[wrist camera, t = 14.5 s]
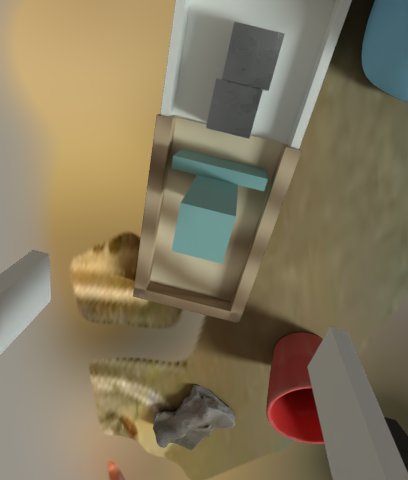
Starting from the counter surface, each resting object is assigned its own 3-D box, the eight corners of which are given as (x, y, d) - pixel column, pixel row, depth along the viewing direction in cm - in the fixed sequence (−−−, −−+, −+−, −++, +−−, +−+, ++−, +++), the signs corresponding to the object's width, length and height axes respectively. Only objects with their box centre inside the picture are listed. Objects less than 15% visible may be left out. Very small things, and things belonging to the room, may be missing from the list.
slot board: (164, 113, 30) (156, 115, 28) (296, 145, 30) (301, 150, 28) (140, 283, 40) (133, 296, 38) (239, 308, 40) (239, 323, 38)
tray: (189, -45, 25) (183, -59, 22) (347, -7, 25) (357, -17, 22) (166, 113, 30) (160, 115, 28) (294, 145, 30) (298, 149, 28)
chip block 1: (235, 31, 26) (234, 21, 23) (279, 41, 26) (284, 33, 23) (224, 81, 28) (222, 79, 25) (265, 90, 28) (268, 90, 24)
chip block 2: (219, 80, 28) (216, 78, 25) (260, 90, 28) (262, 89, 25) (210, 123, 30) (205, 128, 26) (248, 133, 30) (249, 138, 26)
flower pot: (308, 387, 46) (323, 456, 37) (248, 356, 44) (249, 420, 36) (357, 346, 41) (387, 414, 32) (292, 310, 40) (305, 371, 31)
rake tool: (181, 148, 31) (148, 177, 20) (265, 169, 31) (276, 209, 20) (173, 194, 33) (139, 243, 23) (251, 214, 33) (254, 271, 22)
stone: (200, 377, 48) (196, 401, 44) (241, 408, 50) (241, 432, 47) (146, 413, 54) (139, 436, 50) (186, 439, 56) (182, 463, 52)
